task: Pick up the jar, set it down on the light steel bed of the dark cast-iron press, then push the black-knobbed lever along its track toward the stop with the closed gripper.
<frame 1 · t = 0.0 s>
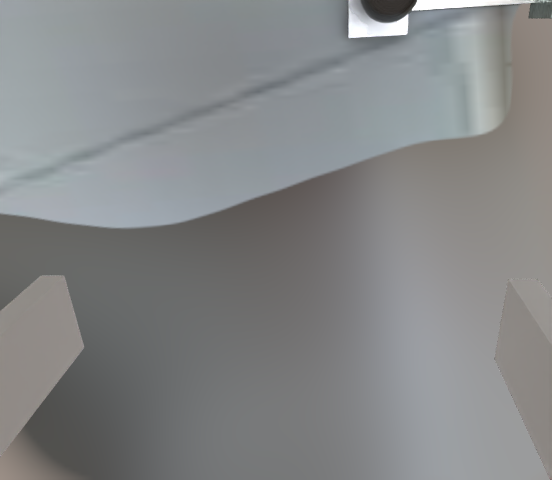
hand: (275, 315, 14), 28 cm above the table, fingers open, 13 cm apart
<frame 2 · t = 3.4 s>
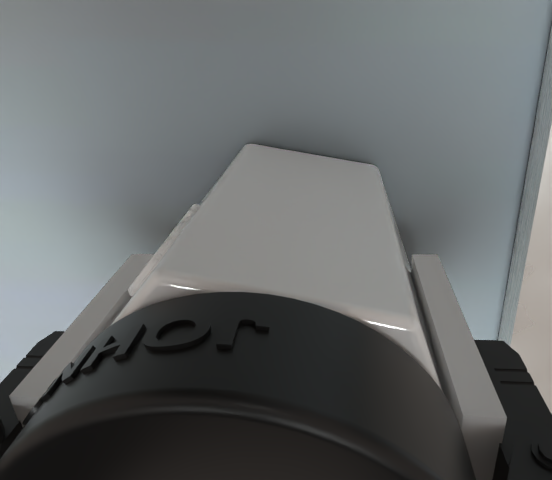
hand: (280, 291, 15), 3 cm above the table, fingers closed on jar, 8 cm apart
jar: (294, 249, 18), on the table, touching gripper
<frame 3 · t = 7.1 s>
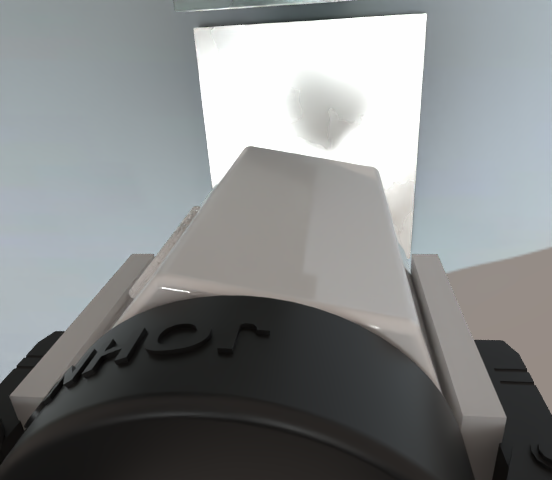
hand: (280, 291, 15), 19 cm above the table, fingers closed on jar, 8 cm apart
jar: (294, 251, 18), point 16 cm above the table, touching gripper
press: (310, 147, 33), on the table
when the fingers open (5 cm above the table, at t = 11.3 s): jar stays where it is, resting on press.
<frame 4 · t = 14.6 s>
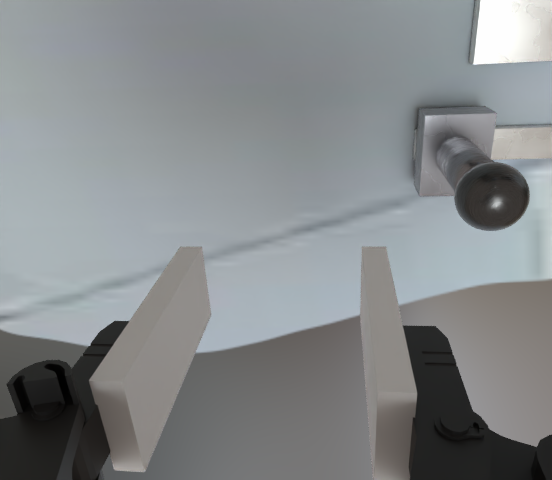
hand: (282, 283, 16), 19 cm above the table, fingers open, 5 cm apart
lever: (469, 172, 26), point 7 cm above the table, slide at 0.0 cm
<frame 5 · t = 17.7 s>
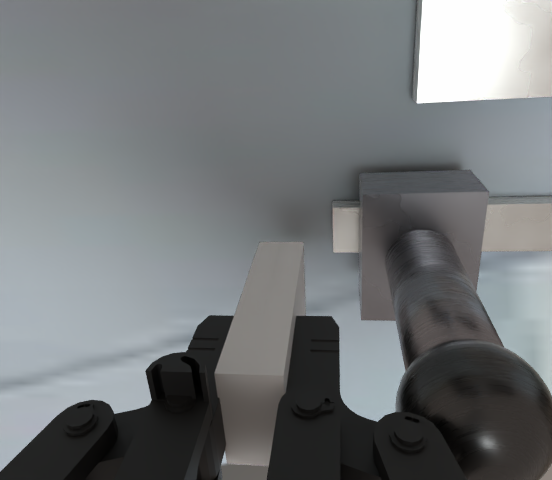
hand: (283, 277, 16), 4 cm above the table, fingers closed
lever: (437, 311, 14), point 7 cm above the table, slide at 1.1 cm, touching gripper
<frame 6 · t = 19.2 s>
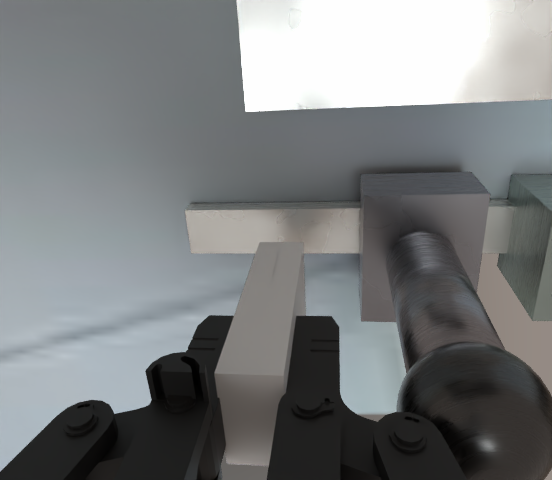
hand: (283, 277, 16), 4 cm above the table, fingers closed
lever: (438, 313, 14), point 7 cm above the table, slide at 7.2 cm, touching gripper
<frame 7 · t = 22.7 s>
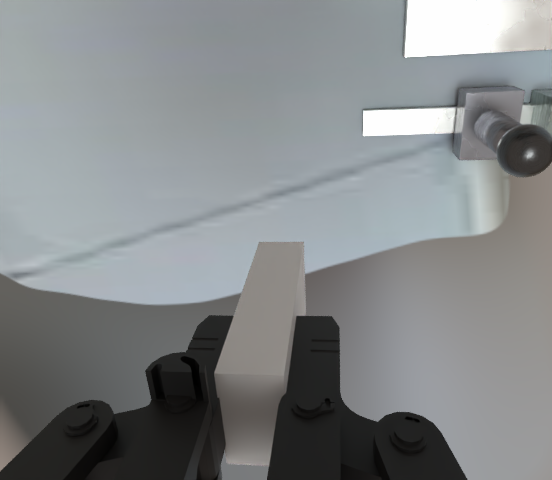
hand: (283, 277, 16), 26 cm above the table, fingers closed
lever: (504, 136, 32), point 7 cm above the table, slide at 7.2 cm
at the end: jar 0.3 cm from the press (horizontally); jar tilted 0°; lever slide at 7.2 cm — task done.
